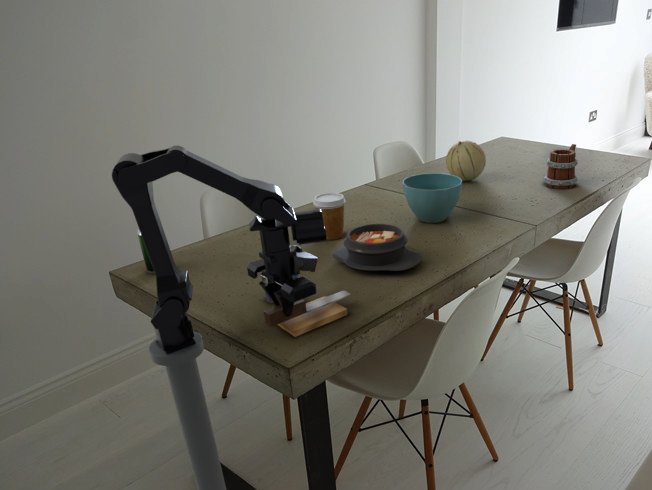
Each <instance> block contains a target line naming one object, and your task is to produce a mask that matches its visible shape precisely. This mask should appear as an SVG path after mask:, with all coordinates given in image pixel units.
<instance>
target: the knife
mask: <svg viewBox="0 0 652 490" xmlns="http://www.w3.org/2000/svg"><path fill="white" fill-rule="evenodd" d="M351 296H352V293H350V292H348V291H346V290H341V291H338V292H336V293H333V294H330V295H328V296H325V298H323V299H320V300H318V301H315V302H313V303H310V304H307V305H306V303H307V302H306V300H305V299H301V300H299V301H296V302H294V306H293V311H292V315H291V316H289V317H287V316H286V315H285V313H284V312H283V310H282V308H281V306H280V305H278V306H275V305H274V306H272V307H270V308H268V309H264V310H263V316H264V320H265V324H266V325H268V326H269V327H271V328H272V327H275V326H278V325H277V324H280V323H282V322H285V321H287V320H290V319H292V318H295V317H297V316H300V315H302V314H305V313H309V312H311V311H314V310H316V309H319V308H321V307H324V306H326V305H329V304H331V303H334V302H336V303H337V302H338V301H341V300H343V299H346V298H348V297H351Z"/></svg>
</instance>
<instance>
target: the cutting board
mask: <svg viewBox="0 0 652 490" xmlns="http://www.w3.org/2000/svg"><path fill="white" fill-rule="evenodd" d="M325 297H326V295H324V296H321V297H319V298H316V299H313V300H311V301H309V302H306V305H307V304H310V303H313V302H315V301H318V300H320V299H323V298H325ZM348 312H349V311H348V308H347V307H344V306H343V305H341V304H339V303H338V302H337V301H336V302H334V303H331V304H329V305H326V306H324V307H321V308H319V309H316V310H314V311H311V312H309V313H305V314H302V315H300V316H297V317H295V318H292V319H290V320H287V321H285V322H282V323H280V324H277V325H276V326H278V327H280V328H281V329H282V330H284V331H286V332H287V333H289V334H290V335H291V336H293V337H295V338H297V337H298V336H301V335H303V334H306V333H308V332H310V331H312V330H315V329H317V328H320V327H322V326H324V325H326V324H329V323H332V322H334V321H337V320H339V319H341V318H343V317H345V316H348V315H349V313H348Z"/></svg>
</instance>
